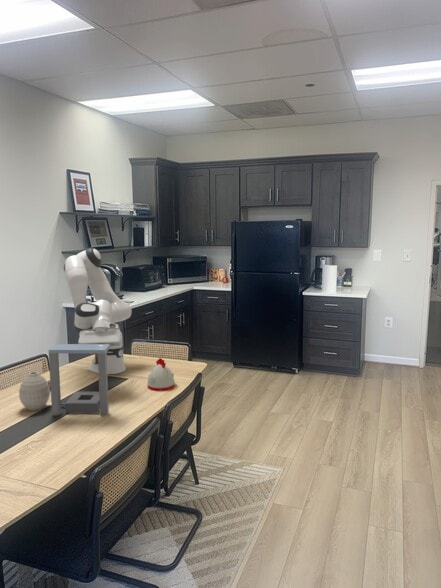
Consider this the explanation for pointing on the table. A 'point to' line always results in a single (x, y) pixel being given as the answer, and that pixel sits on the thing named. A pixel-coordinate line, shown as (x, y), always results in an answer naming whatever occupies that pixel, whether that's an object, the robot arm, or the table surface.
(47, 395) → the vase
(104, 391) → the socket station
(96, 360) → the peg
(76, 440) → the table surface
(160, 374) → the kitchen timer
